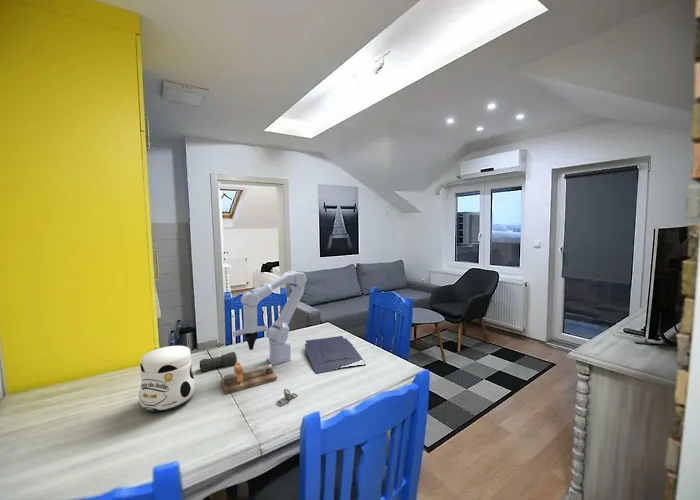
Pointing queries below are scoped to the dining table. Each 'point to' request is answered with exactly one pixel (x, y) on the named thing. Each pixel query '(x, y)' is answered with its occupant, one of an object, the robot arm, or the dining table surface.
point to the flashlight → (218, 361)
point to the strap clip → (286, 398)
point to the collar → (238, 372)
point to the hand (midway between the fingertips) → (251, 349)
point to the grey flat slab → (331, 353)
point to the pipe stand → (248, 379)
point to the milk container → (166, 378)
